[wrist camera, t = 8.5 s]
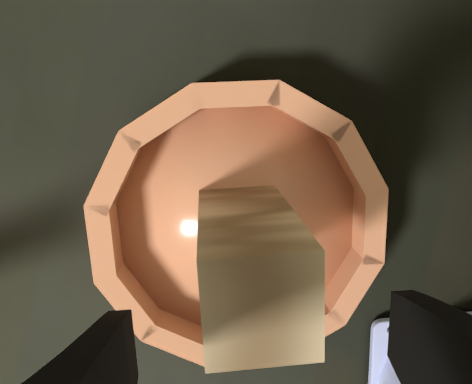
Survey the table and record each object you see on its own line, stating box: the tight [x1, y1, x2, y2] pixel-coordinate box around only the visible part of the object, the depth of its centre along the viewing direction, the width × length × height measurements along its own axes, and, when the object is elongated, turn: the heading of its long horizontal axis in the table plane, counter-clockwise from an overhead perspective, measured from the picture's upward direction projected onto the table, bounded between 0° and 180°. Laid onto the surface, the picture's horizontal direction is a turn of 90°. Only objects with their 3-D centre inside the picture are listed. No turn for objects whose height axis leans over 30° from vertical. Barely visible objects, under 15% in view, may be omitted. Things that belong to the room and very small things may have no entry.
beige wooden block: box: [197, 185, 325, 374], centre depth 15 cm, size 4×4×8 cm
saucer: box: [84, 80, 389, 367], centre depth 19 cm, size 13×13×2 cm
